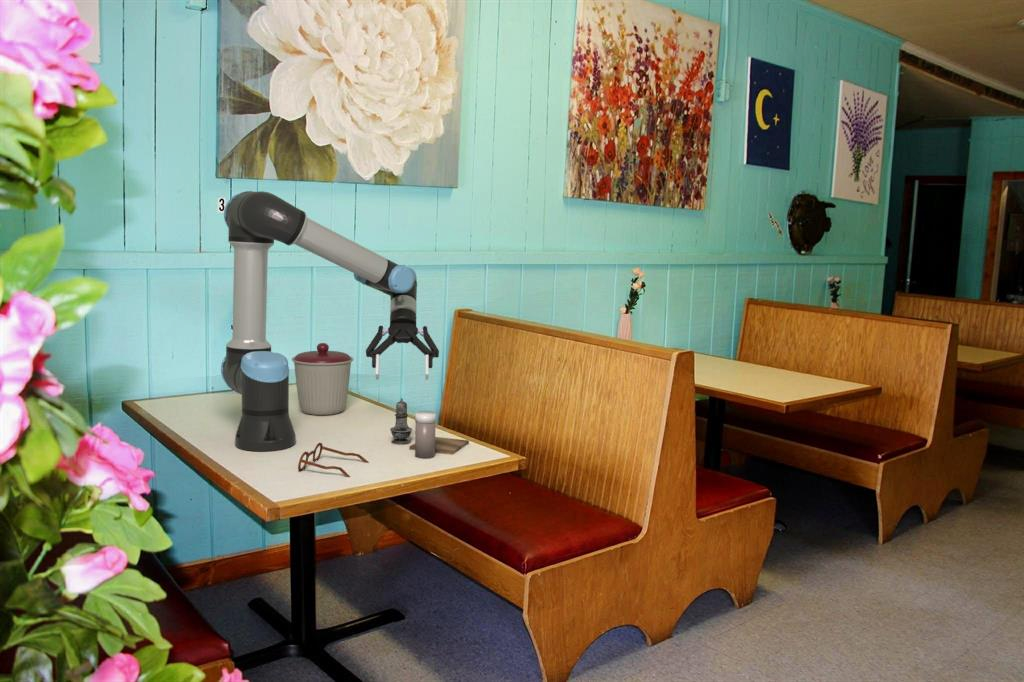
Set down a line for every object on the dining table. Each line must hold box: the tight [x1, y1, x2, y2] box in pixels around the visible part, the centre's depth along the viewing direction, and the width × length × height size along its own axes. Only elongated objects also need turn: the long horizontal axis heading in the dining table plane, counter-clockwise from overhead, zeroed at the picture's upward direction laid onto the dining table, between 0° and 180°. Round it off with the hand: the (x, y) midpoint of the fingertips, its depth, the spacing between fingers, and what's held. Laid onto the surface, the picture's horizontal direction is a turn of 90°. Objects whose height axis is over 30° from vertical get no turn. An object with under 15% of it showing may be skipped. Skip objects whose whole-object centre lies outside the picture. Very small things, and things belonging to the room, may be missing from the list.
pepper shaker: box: [414, 410, 437, 460], centre depth 223 cm, size 5×5×11 cm
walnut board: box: [408, 436, 470, 455], centre depth 233 cm, size 12×12×1 cm
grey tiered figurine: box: [389, 397, 413, 446], centre depth 236 cm, size 6×6×12 cm
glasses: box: [297, 442, 370, 478], centre depth 211 cm, size 13×13×5 cm
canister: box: [291, 342, 354, 416], centre depth 267 cm, size 18×18×21 cm
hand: (402, 377), depth 244 cm, fingers open, 13 cm apart
